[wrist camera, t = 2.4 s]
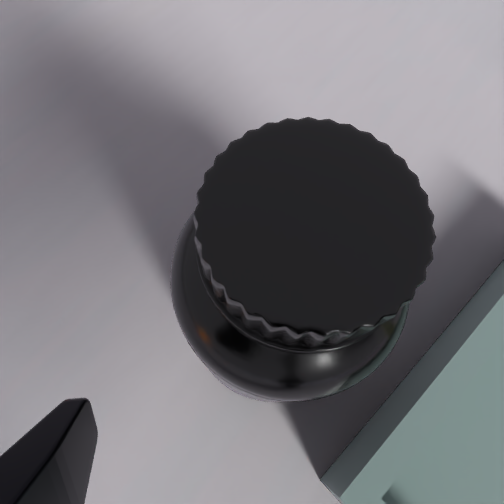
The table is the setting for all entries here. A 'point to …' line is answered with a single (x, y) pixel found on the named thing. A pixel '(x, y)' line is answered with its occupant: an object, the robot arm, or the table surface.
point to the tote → (438, 420)
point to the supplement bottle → (301, 259)
